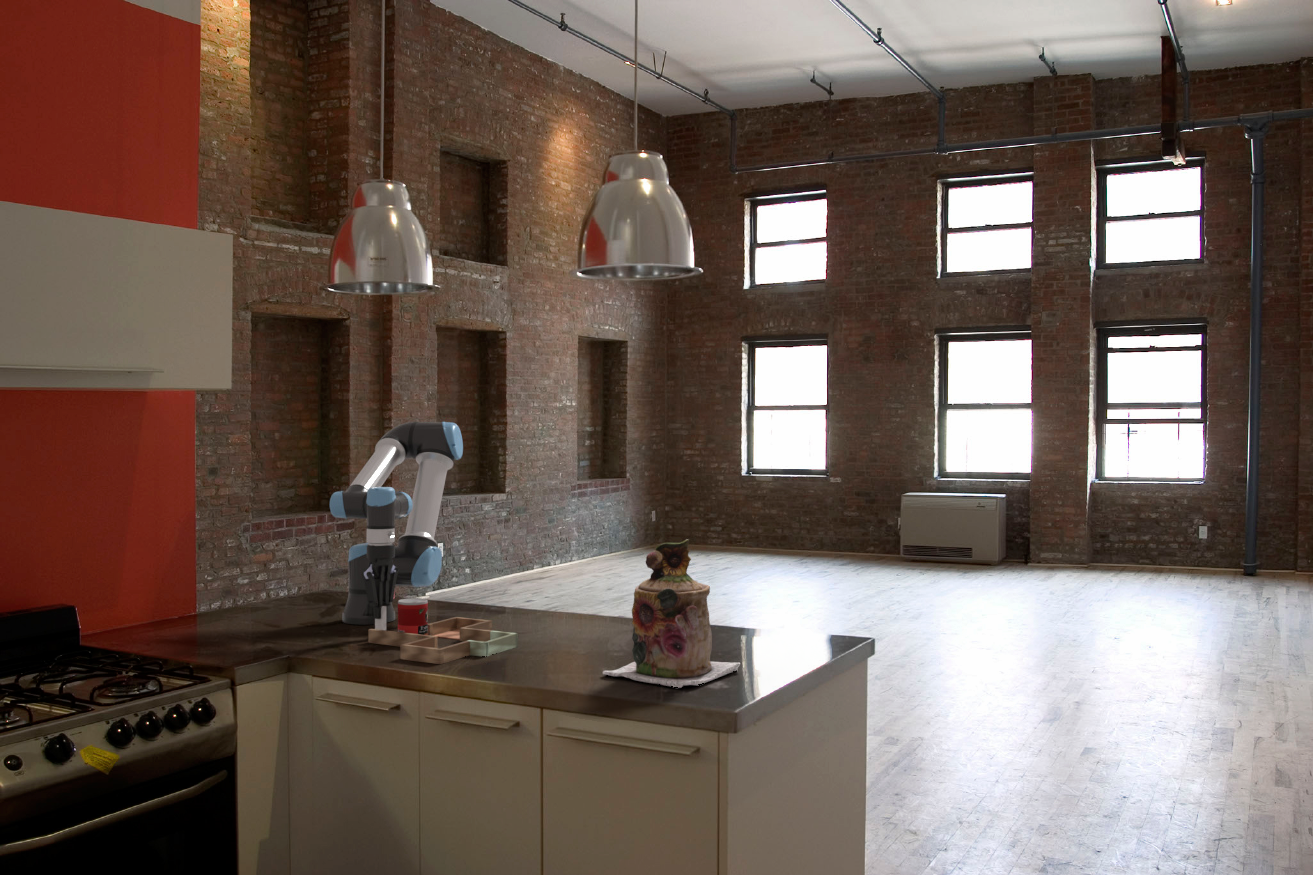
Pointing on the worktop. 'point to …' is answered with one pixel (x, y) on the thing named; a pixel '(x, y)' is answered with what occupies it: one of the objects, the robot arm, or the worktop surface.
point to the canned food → (413, 616)
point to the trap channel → (464, 629)
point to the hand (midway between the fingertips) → (380, 629)
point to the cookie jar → (672, 625)
